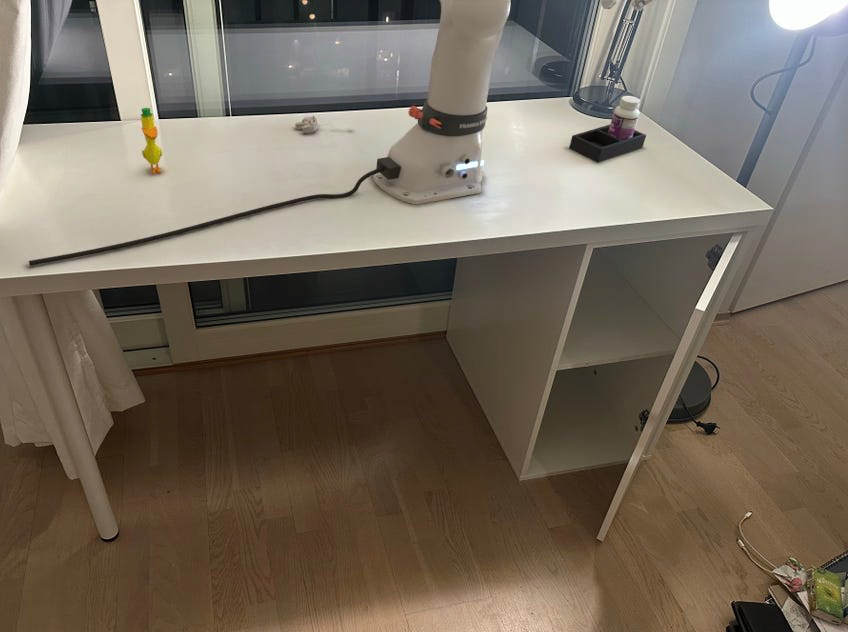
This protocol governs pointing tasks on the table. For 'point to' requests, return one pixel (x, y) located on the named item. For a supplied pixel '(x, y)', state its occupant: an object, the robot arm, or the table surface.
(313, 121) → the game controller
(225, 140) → the table surface
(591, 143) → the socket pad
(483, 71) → the robot arm
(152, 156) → the toy figure
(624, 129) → the pill bottle
